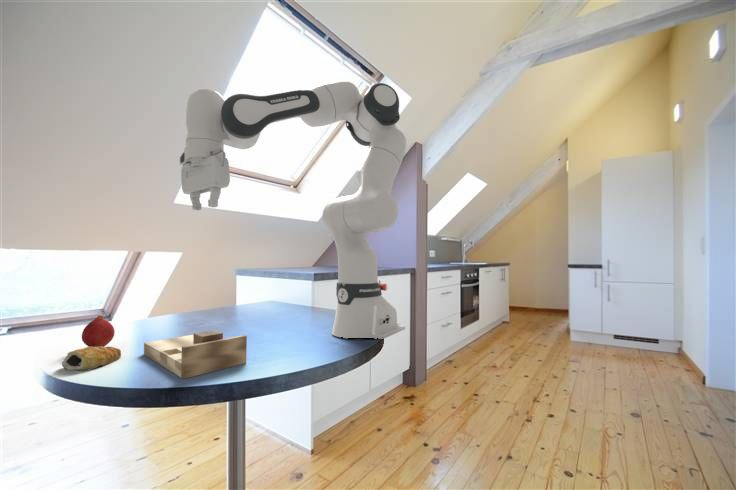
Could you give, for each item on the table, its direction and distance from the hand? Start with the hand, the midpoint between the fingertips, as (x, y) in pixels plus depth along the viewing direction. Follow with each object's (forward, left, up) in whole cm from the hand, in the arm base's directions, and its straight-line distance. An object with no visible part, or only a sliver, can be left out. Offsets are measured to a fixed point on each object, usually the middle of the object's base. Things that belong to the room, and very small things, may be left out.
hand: (204, 208), depth 88 cm
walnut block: (+8, +21, -31) cm, 38 cm away
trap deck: (+8, +14, -34) cm, 37 cm away
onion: (+20, -8, -34) cm, 40 cm away
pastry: (+23, +3, -34) cm, 41 cm away
